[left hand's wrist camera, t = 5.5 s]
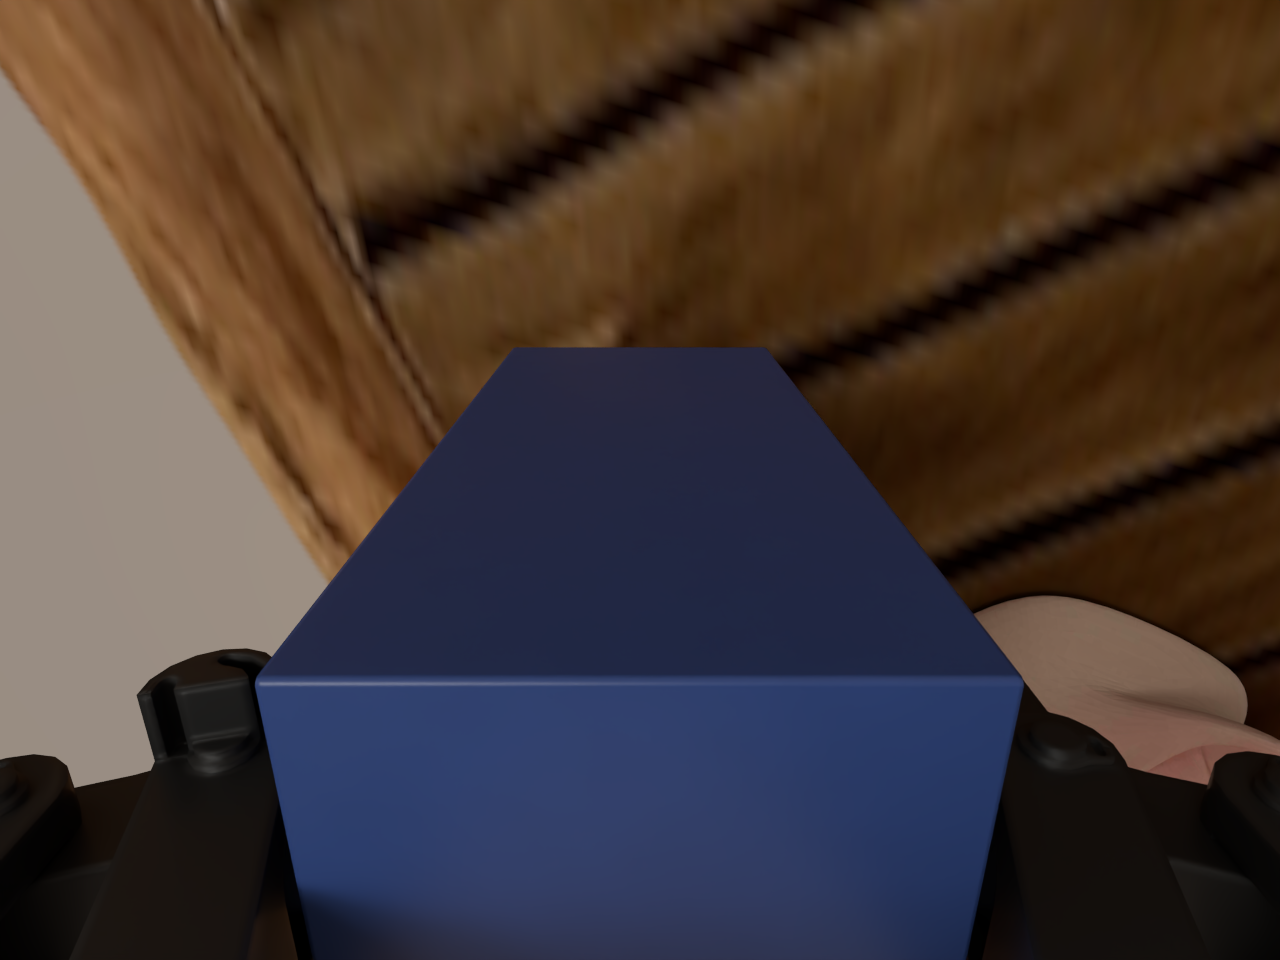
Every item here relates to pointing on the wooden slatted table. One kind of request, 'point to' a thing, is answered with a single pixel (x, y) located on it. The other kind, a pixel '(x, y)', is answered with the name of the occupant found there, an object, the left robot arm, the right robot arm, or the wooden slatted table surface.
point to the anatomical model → (1128, 683)
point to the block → (639, 690)
